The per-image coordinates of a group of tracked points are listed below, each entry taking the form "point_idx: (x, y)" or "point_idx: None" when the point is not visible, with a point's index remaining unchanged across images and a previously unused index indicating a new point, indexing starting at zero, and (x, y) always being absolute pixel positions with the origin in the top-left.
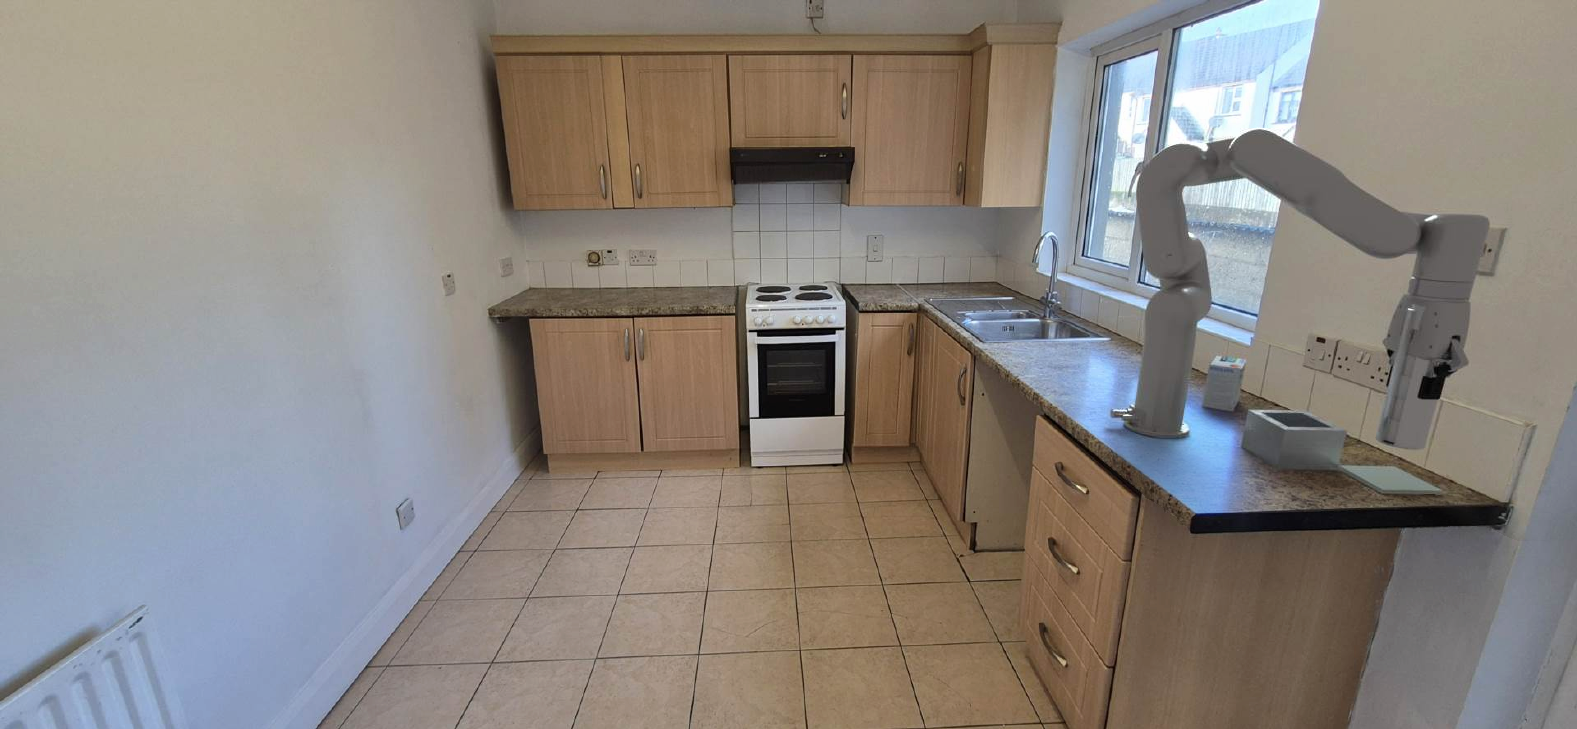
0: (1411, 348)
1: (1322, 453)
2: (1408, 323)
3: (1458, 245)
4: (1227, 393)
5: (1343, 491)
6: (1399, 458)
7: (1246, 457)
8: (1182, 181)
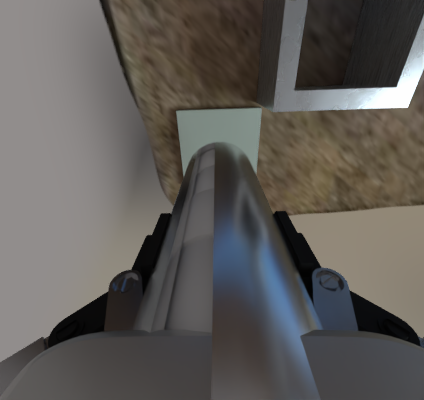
0: (183, 395)
1: (265, 67)
2: None
3: None
4: None
5: (177, 49)
6: (288, 215)
7: None
8: None
